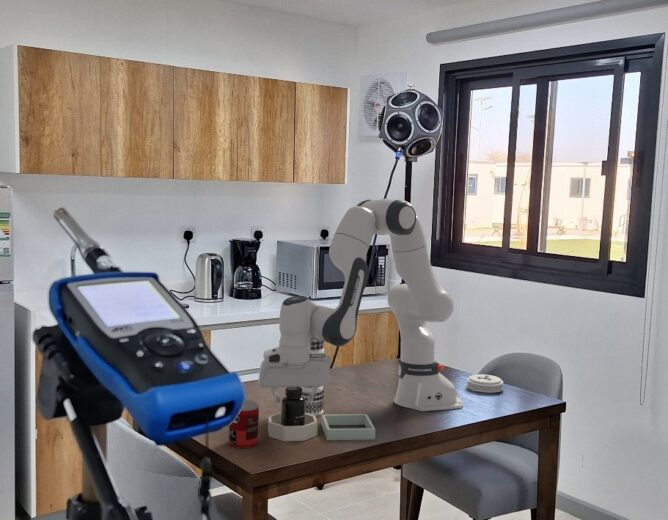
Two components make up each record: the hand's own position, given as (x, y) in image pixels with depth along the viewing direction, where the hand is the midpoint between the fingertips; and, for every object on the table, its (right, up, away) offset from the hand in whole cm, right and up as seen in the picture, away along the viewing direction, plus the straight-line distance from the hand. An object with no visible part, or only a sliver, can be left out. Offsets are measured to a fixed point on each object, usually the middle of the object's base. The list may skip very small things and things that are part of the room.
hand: (294, 401), depth 209 cm
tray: (+15, -9, +3) cm, 18 cm away
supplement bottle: (0, -8, +1) cm, 8 cm away
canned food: (-13, -10, -9) cm, 19 cm away
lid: (+65, -6, +52) cm, 84 cm away
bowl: (-1, -9, +1) cm, 9 cm away
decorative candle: (+4, -7, +21) cm, 22 cm away
